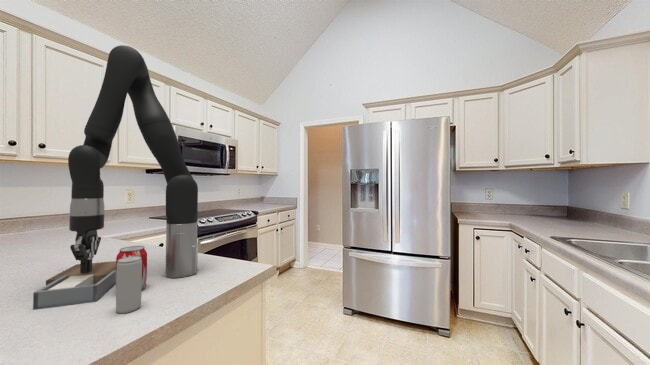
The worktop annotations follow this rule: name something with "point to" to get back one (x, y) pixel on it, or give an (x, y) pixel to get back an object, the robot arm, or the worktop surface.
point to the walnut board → (98, 272)
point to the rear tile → (81, 279)
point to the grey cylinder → (128, 284)
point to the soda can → (133, 252)
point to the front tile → (68, 285)
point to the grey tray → (72, 293)
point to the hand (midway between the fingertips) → (86, 272)
